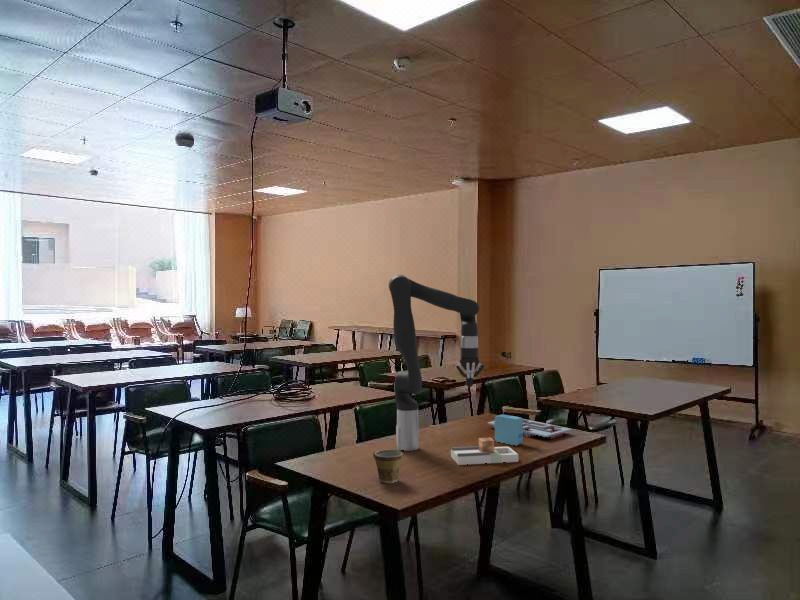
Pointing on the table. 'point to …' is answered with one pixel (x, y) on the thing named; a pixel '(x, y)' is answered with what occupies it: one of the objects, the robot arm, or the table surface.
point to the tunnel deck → (482, 455)
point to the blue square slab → (509, 429)
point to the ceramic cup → (388, 465)
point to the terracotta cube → (486, 445)
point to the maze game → (540, 429)
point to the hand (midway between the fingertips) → (469, 386)
